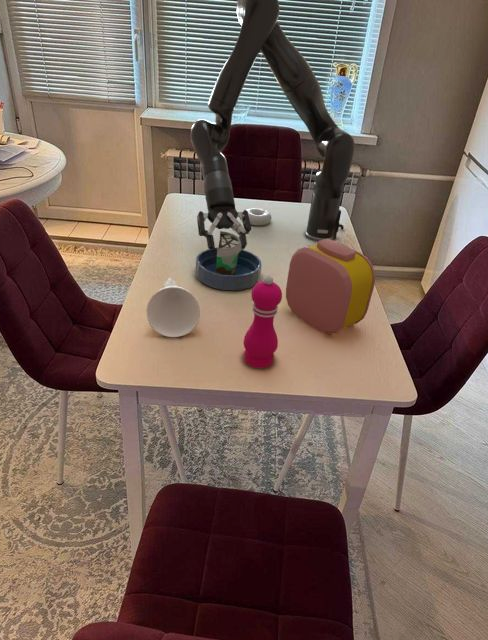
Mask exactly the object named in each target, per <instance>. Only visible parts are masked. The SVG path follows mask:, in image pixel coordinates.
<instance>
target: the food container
mask: <svg viewBox="0 0 488 640" xmlns="http://www.w3.org/2000/svg"><path fill="white" fill-rule="evenodd" d="M216 248H217V265H216V273H218V274H223V275H235V271H236V265H237V259H238V253H239V252H240V251H241V249H242V248H241V242H240V239H239V236H237V235H236V234H234V233H231V232H228V231H222V230H220V231H219V241H218V247H216ZM242 250H243V249H242Z"/></svg>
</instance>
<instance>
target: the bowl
mask: <svg viewBox="0 0 488 640" xmlns="http://www.w3.org/2000/svg"><path fill="white" fill-rule="evenodd" d="M217 248H218V247H215V249H214V251H211V250H210V249H209V248H207V249H205V250H202V251H200V252H199V253H198V255H196V257H195V258H196V259H195V276H196V278H197V280H198V281H200V282H201V283H202V284H203V285H206V286H208V287H210V288H213V289H217V290H221V291H243V290H246V289H249V288H252V287H254V286H255V285H256V284H257V283H259V282H260V280H261V273H262V265H263V264H262V261H261V259H260V258H259V256H257V255H256V254H254V253H252V252H251V251H249V250H245V249H241V251H240V252H239V253H238V259H237V265H236V271H235V275H223V274H218V273H216V265H217Z"/></svg>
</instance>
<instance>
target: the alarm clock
mask: <svg viewBox="0 0 488 640" xmlns="http://www.w3.org/2000/svg"><path fill="white" fill-rule="evenodd" d="M375 285H376V271H375V268H374V265H373V263H372V262H371V261H370V259H369V258H368V257H367V256H366V255H365V254H363V253H361V252H359V251H358V250H355V249H353V248H350V247H349V246H347V245H345V244H343V243H341V242H339V241H336V240H334V239H333V240H330V239H323V240H320V241H316V244H314V245H312V246H304V247H300V248H297V250H295V252H294V253H293V254H292V255H291V258H290V262H289V266H288V273H287V278H286V285H285V299H286V303H287V306H288V307H289V309H290V311H291V312H292V314H293V315H295V316H296V317H297V318H299V320H302V321H303V322H305V323H306V324H308V325H309V326H311V327H312V328H314V329H316V330H318V331H319V332H321V333H324V334H327V335H334V334H335V335H336V334H337V333H339V332H340V331H342V330H344V329H346V328H348V327H351V325H355V324H359V323H360V322H361V321H362V320H364V319H365V317H366V315H367V313H368V311H369V307H370V305H371V304H370V303H371V300H372V295H373V293H374V288H375Z"/></svg>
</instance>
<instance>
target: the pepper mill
mask: <svg viewBox="0 0 488 640" xmlns="http://www.w3.org/2000/svg"><path fill="white" fill-rule="evenodd" d="M282 299H283V292H282V289H281V287H280V285H279V284H277V283H276V282H274V278H273V276H272V275H266V276H264V279H263V280H262V281H258V283H257V284H255V285H254V286H253V288H252V290H251V300H252V302H253V303H252V309H251V311H252V312H253V321H252V323H251V325H250V326H249V327H248V329H247V331H246V332H245V334H244V337H243V347H244V355H243V359H244V362H245V364H247V365H248V366H250V367H252V368H256V369H266V368H268V367H270V366H272V364H273V363H274V358H275V353H276V351H277V349H278V346H279V345H278V344H279V338H278V335H277V332H276V329H275V327H274V319H275V316H276V315H277V314H278V310H279V305H280V304H281V302H282Z"/></svg>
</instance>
